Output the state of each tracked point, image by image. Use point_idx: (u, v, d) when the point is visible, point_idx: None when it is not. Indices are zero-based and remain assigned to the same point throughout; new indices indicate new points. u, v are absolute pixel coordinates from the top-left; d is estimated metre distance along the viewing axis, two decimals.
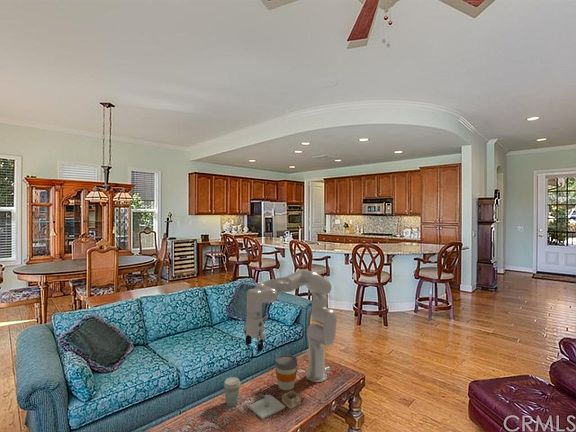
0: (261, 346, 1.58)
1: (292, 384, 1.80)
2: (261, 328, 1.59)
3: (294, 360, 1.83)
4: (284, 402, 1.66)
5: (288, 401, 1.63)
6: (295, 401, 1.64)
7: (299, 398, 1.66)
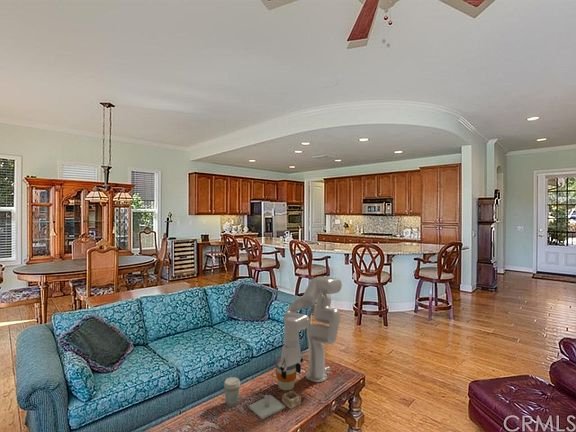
0: None
1: (292, 384, 1.80)
2: None
3: None
4: (284, 402, 1.66)
5: (288, 401, 1.63)
6: (295, 401, 1.64)
7: (299, 398, 1.66)
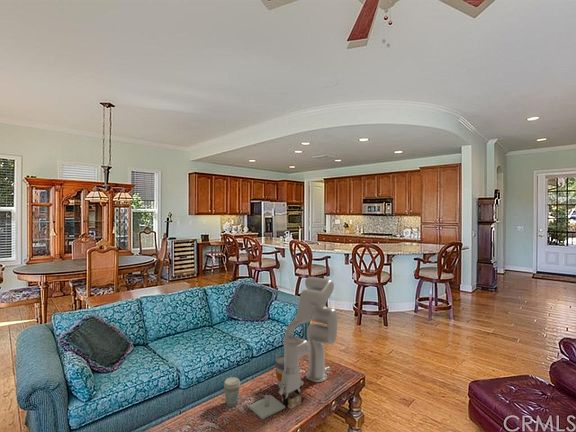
0: None
1: None
2: None
3: None
4: None
5: (288, 401, 1.63)
6: (295, 401, 1.64)
7: (299, 398, 1.66)
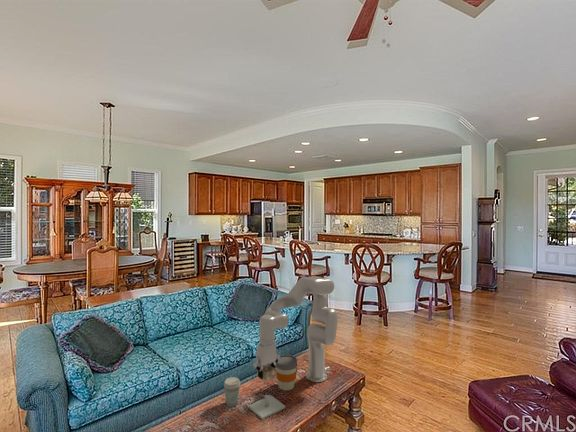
0: None
1: (292, 384, 1.80)
2: None
3: (294, 360, 1.83)
4: None
5: (263, 373, 1.58)
6: (270, 374, 1.59)
7: (274, 371, 1.61)
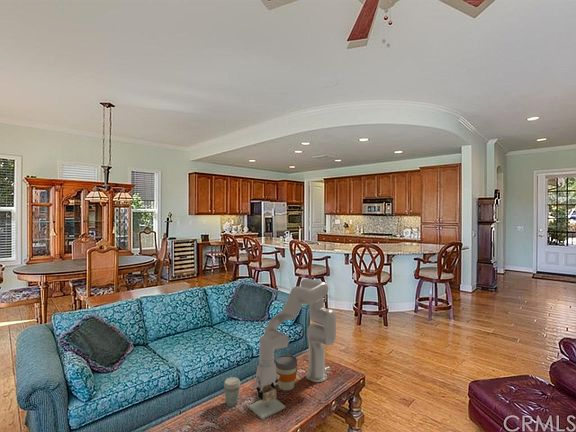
0: None
1: (292, 384, 1.80)
2: None
3: (294, 360, 1.83)
4: None
5: (263, 394, 1.59)
6: (270, 395, 1.60)
7: (274, 392, 1.62)
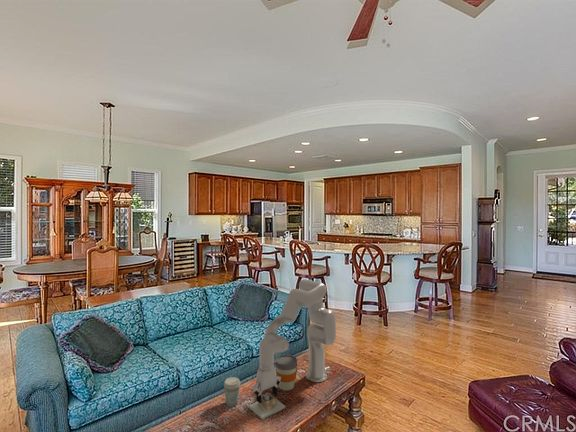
0: None
1: (292, 384, 1.80)
2: None
3: (294, 360, 1.83)
4: (259, 405, 1.62)
5: (264, 403, 1.59)
6: (270, 404, 1.60)
7: (275, 401, 1.62)
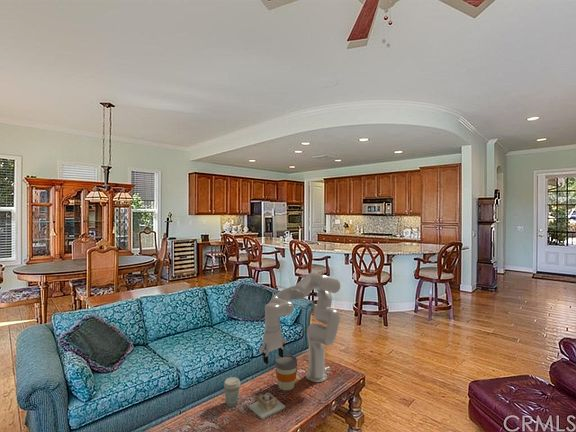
0: None
1: (292, 384, 1.80)
2: None
3: (294, 360, 1.83)
4: (259, 405, 1.62)
5: (264, 403, 1.59)
6: (270, 404, 1.60)
7: (275, 401, 1.62)
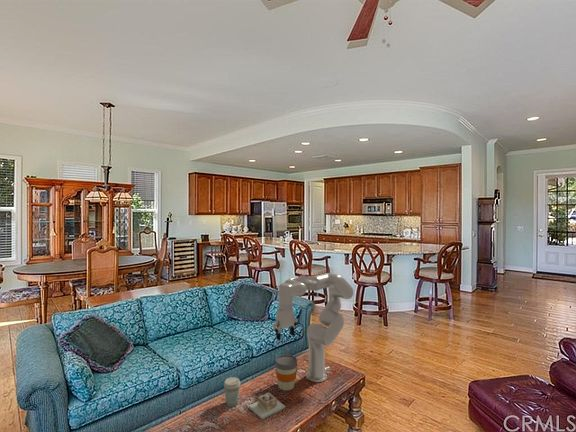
0: None
1: (292, 384, 1.80)
2: None
3: (294, 360, 1.83)
4: (259, 405, 1.62)
5: (264, 403, 1.59)
6: (270, 404, 1.60)
7: (275, 401, 1.62)
